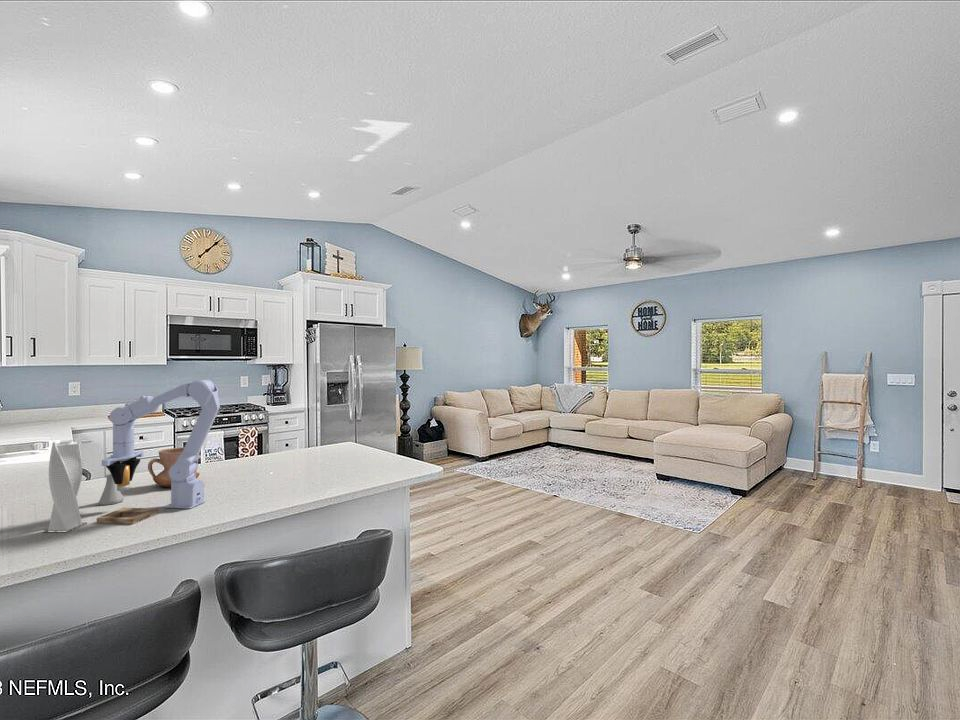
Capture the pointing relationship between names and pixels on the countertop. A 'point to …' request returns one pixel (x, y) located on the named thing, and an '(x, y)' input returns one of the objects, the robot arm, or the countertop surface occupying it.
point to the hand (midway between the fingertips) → (123, 482)
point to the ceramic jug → (166, 465)
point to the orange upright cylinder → (125, 480)
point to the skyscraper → (65, 484)
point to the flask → (110, 492)
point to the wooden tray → (127, 515)
